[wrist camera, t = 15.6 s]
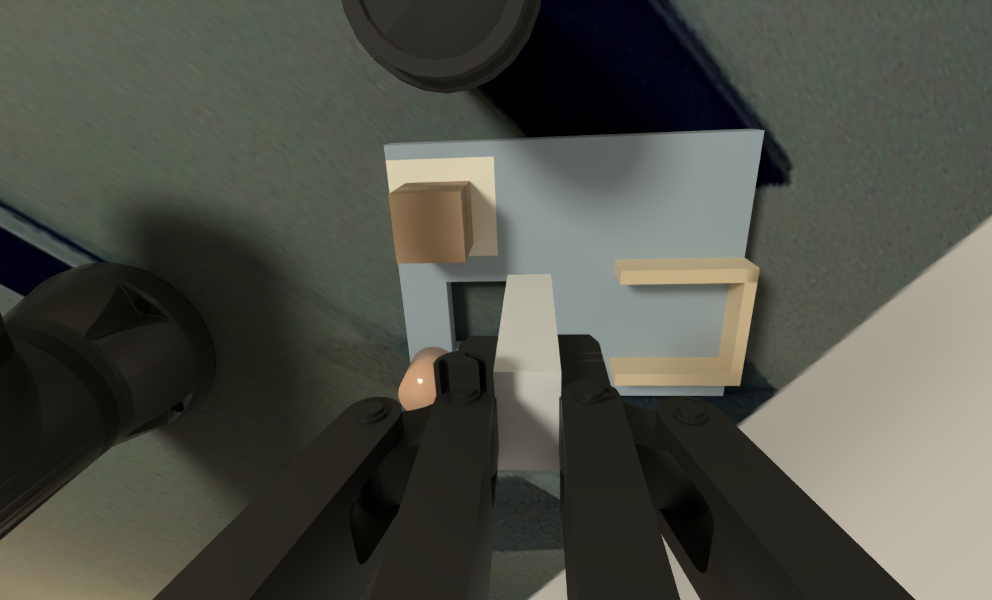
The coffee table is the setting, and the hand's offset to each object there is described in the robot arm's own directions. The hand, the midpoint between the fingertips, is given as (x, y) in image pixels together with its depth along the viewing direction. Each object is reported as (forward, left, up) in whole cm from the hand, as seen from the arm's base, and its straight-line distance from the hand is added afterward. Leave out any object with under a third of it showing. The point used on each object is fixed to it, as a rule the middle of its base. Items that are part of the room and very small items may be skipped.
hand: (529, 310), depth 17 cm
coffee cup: (-4, +12, -21) cm, 24 cm away
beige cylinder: (-8, -13, -18) cm, 24 cm away
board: (+2, -5, -20) cm, 21 cm away
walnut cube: (-7, 0, -18) cm, 20 cm away
